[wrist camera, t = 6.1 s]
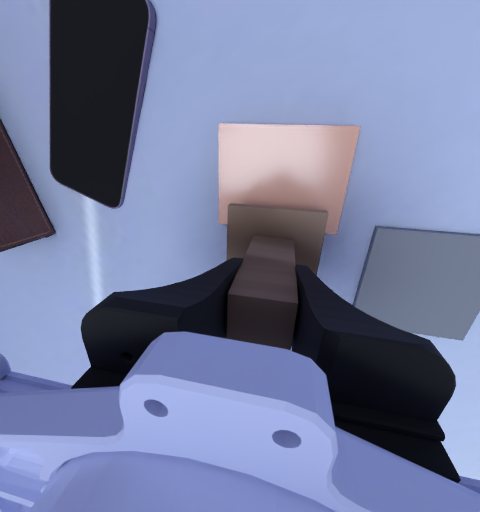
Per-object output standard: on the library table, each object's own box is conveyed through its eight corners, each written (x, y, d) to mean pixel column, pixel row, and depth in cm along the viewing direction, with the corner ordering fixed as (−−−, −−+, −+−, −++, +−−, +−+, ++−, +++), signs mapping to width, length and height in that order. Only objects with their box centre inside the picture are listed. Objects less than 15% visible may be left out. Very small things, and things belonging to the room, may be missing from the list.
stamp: (310, 294, 16) (327, 396, 9) (228, 283, 17) (188, 368, 10) (326, 210, 14) (365, 263, 7) (230, 203, 15) (179, 243, 8)
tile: (336, 234, 17) (360, 126, 14) (218, 223, 18) (218, 123, 15) (332, 227, 19) (352, 129, 16) (224, 217, 20) (225, 126, 17)
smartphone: (48, 178, 21) (47, -54, 14) (59, 177, 22) (63, -41, 15) (119, 213, 21) (154, -3, 14) (127, 210, 22) (163, 7, 15)
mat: (458, 336, 20) (462, 340, 19) (348, 320, 21) (350, 323, 21) (513, 237, 16) (519, 239, 16) (375, 226, 18) (377, 228, 17)
